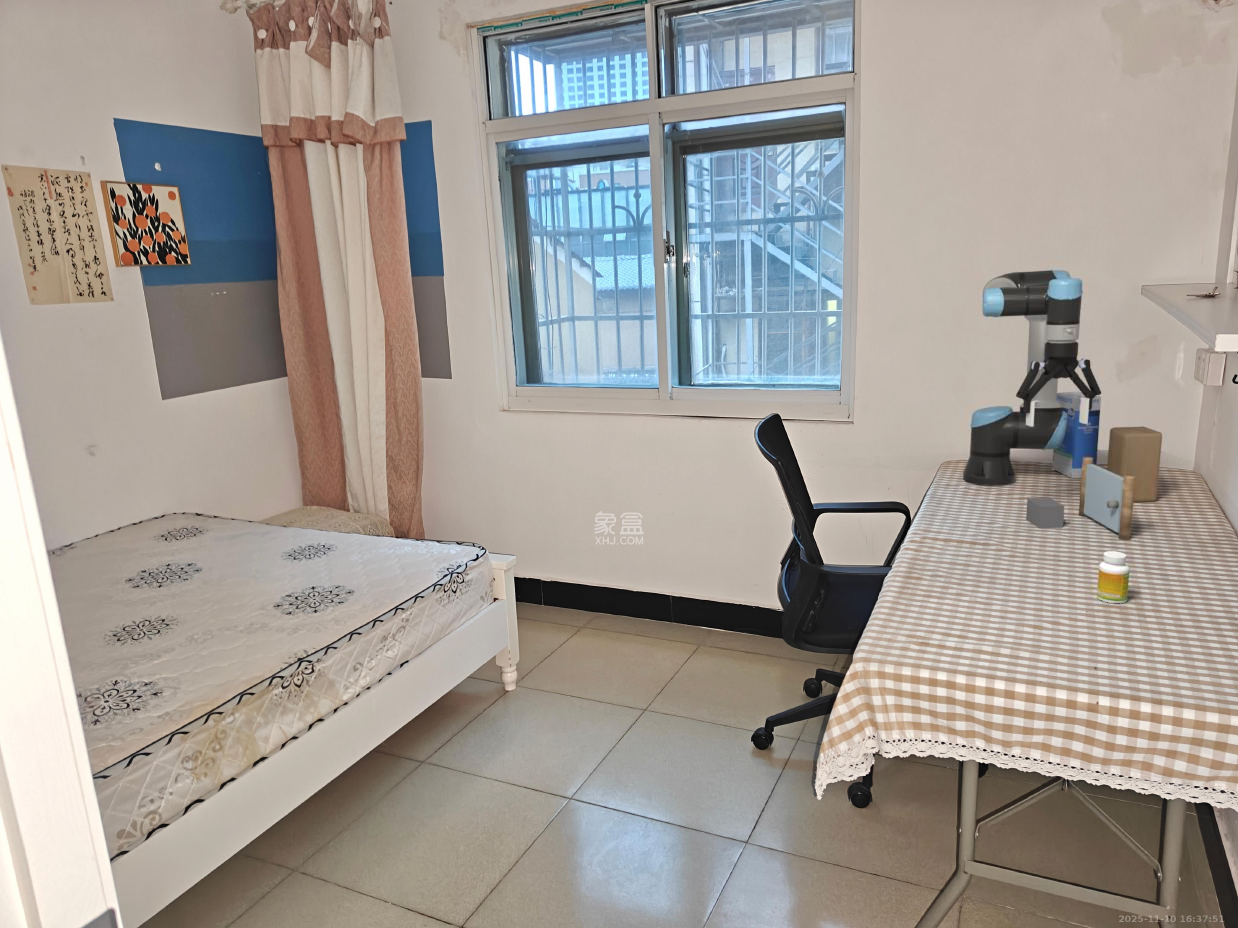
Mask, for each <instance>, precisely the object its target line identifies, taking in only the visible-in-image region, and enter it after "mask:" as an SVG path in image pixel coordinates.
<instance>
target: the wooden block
mask: <svg viewBox="0 0 1238 928" xmlns="http://www.w3.org/2000/svg"><path fill="white" fill-rule="evenodd" d="M1108 439H1109V440H1108V451H1107V463H1106V464H1107V465H1106V470H1107V471H1110V472H1112V473H1114V474H1116V475H1119V476H1121V477H1123V478H1124V475H1134V476H1135V488H1134V500H1133V503H1141V502H1144V503H1146V502H1156V500H1157V497H1158V496H1157V495H1158V487H1159V477H1160V476H1159V475H1160V464H1161V453H1162V444H1163V443H1162V442H1163V434H1162V432H1160V431H1157V430H1154V429H1152V428H1149V427H1146V426H1123V427H1121V426H1119V427H1118V426H1117V427H1112V428H1110V430H1109V438H1108Z"/></svg>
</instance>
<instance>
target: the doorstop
mask: <svg viewBox="0 0 1238 928" xmlns="http://www.w3.org/2000/svg"><path fill="white" fill-rule="evenodd" d="M1064 517H1065V505H1063V504H1061V503H1060V502H1059V501H1057V500H1055V499H1053V498H1051V497H1038V498H1037V497H1035V498H1033V497H1032V498H1027V500H1026V517H1025V520H1026V521H1027V522H1029V523H1030V524H1032V525H1033V526H1035V527H1036V528H1038V529H1062V528H1063V527H1064Z"/></svg>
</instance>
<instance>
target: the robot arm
mask: <svg viewBox="0 0 1238 928" xmlns="http://www.w3.org/2000/svg"><path fill="white" fill-rule="evenodd" d="M1083 293H1084V291H1083V280H1082V279H1081V278H1074V277H1073V278H1072V276H1071V274H1070V273H1069V271H1067V270H1060V269H1059V270H1058V269H1057V270H1056V269H1055V270H1054V269H1051V270H1035V271H1015V272H1014V271H1013V272H1010V273H1004V274H1002V275H999V276H996V277H994V278H992V279H991V280H989V281H988V282H987V283H986V284H985V285H984V287H983V290H982V315H983V316H984V317H987V318H988V317H989V318H991V317H993V318H1000V317H1002V318H1003V317H1021V316H1023V317H1024V318H1025V319H1026V320H1027V321H1028V345H1027V346H1028V348H1027V363H1026V365H1027V366H1026V376H1025V378H1024V379H1023V381H1022V383H1021V385H1020V387H1019V389H1018V390H1017V392H1016V395H1015V397H1017V398H1018V399H1021V400H1023V402H1022V403H1021V404H1020V405H1019V411H1014V410H1013V407H1011V406H1007V405H1005V406H1003V405H999V406H989V407H983V408H979V409H977V410H975V411H974V412H973V413H972V415H971V422H970V428H971V429H970V446H969V457H968V460H967V462H966V465H965V468H964V469H963V471H962V472H963V474H962V479H963V481H965V482H967V483H970V484H974V485H981V486H1006V485H1011V484H1013V483H1015V481H1016V480H1015V479H1016V473H1015V469H1014V467H1013V464H1012V460H1011V450H1012V449H1015V450H1018V449H1020V450H1021V449H1022V450H1041V451H1045V450H1054V449H1057V448H1059V447H1060V446H1061V444H1062V442H1063V439H1064V435H1065V431H1066V425H1067V413H1066V412H1064V411H1062V405H1061V404H1060V403H1059V402H1058V401H1057V393H1058V385H1059V384H1058V383H1059V379H1061V378H1062V379H1069V380H1070V381H1072V383H1073V384H1074V385H1075V386H1076V387H1077V389H1078V390H1079V392H1082V393H1083V395H1084V396H1085V397H1081V403H1080V418H1079V422H1081V423H1083V424H1088V411H1089V410H1091V409H1092V400H1093V398H1095V396H1100V395H1101V394H1102V390H1101V388H1100V387H1099V384H1098V381H1097V379H1096V377H1095V375H1094V373H1093V370H1092V368H1091V359H1086V358H1081V359H1080V360H1079V359H1078V355H1079V342H1078V340H1079V339H1080V325H1081V321H1080V319H1081V310H1082V297H1083ZM1078 367H1079V368H1080V370H1081V372H1082V374H1083V377H1084V378H1085V381H1086V383H1087V384H1086V383H1085V382H1084V381H1083V380H1082V378H1080V375H1079V373H1077V371H1076V369H1077V368H1078Z"/></svg>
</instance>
